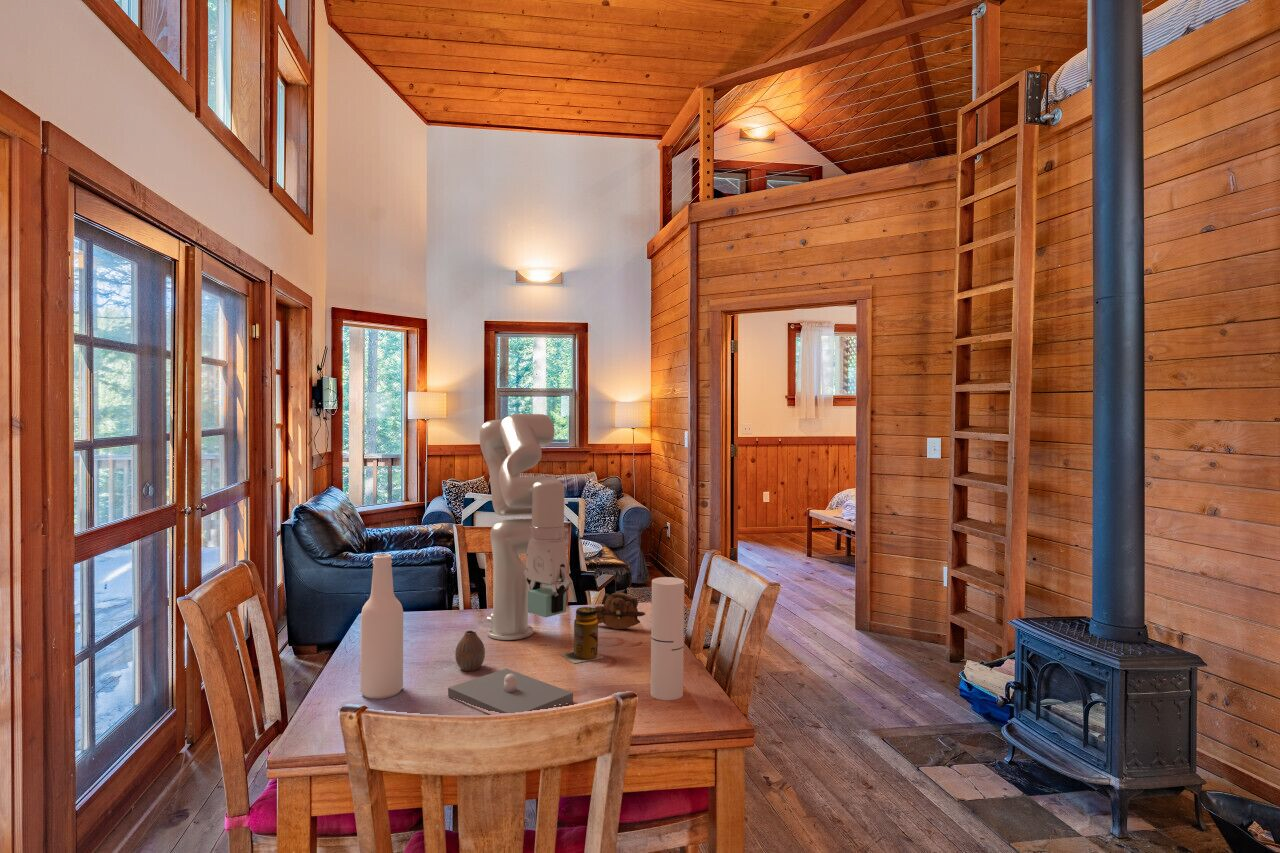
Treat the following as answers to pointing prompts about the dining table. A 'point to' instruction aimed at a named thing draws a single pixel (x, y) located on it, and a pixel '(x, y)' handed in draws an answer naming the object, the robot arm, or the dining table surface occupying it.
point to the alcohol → (381, 635)
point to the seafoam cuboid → (543, 602)
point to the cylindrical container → (667, 638)
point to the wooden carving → (618, 611)
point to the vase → (470, 652)
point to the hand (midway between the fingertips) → (546, 608)
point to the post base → (510, 693)
